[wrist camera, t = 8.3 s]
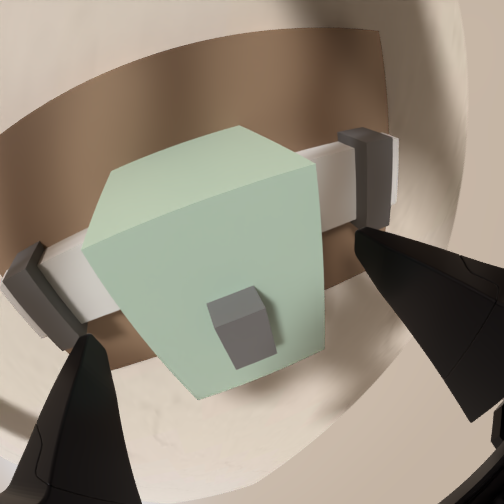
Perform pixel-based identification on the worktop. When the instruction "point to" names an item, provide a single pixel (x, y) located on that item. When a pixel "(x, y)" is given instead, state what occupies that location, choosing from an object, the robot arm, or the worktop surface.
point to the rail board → (178, 131)
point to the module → (215, 257)
